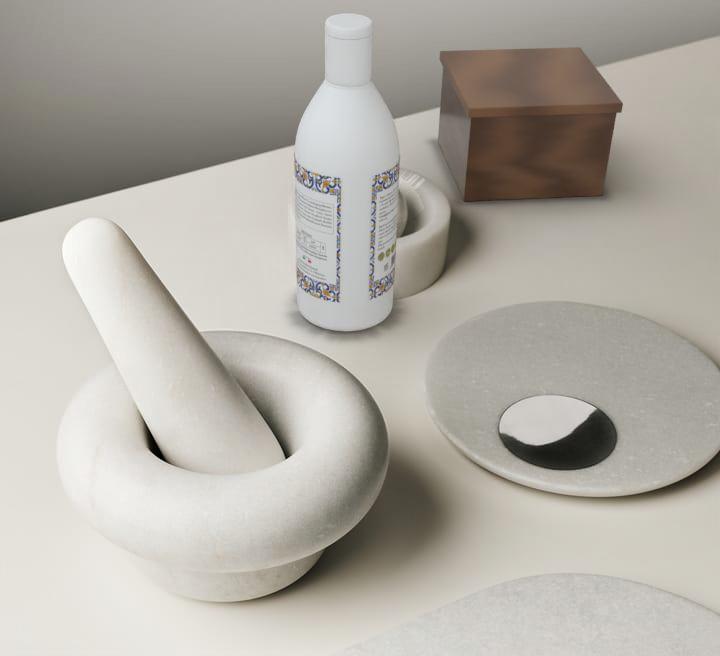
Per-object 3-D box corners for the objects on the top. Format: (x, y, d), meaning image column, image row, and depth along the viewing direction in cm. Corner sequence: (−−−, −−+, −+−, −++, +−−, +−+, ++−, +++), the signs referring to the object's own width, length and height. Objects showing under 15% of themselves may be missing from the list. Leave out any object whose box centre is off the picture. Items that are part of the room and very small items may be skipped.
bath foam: (383, 281, 86) (393, -1, 73) (401, 330, 81) (417, 38, 68) (291, 287, 85) (284, 3, 72) (304, 338, 80) (300, 43, 67)
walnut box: (567, 135, 106) (580, 46, 101) (606, 197, 97) (623, 103, 92) (433, 140, 105) (439, 50, 100) (460, 203, 96) (469, 108, 90)
